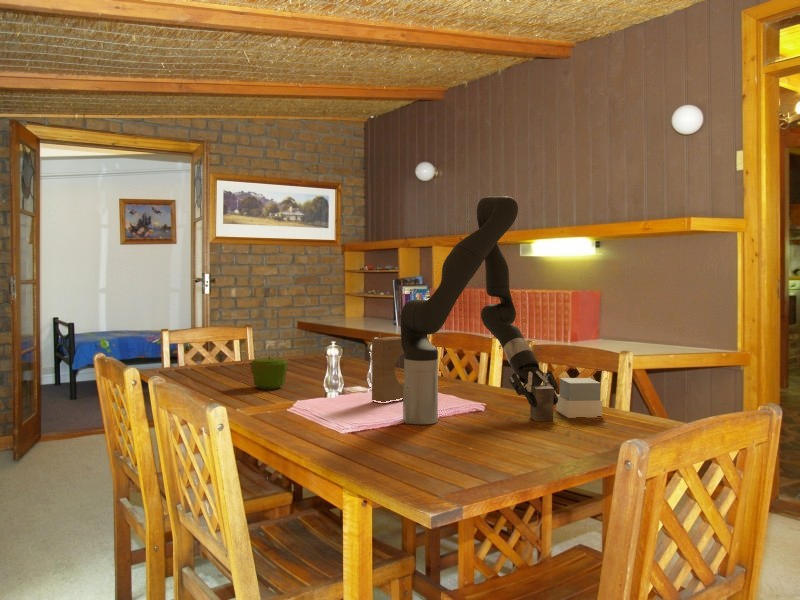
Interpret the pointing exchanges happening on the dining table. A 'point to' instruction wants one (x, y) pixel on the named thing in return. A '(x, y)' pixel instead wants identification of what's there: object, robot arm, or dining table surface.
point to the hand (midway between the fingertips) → (545, 404)
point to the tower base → (578, 408)
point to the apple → (269, 372)
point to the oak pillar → (542, 403)
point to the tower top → (580, 389)
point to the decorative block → (386, 369)
